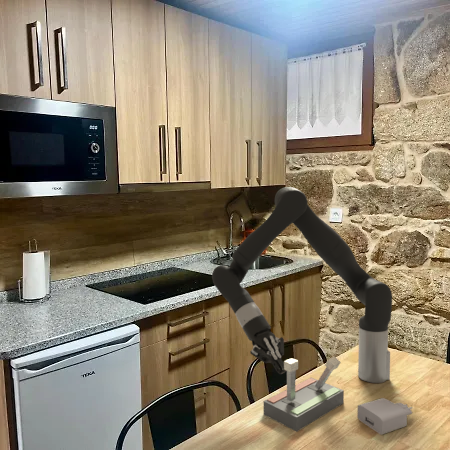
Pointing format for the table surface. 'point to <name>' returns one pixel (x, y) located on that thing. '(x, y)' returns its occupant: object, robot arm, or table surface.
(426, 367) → the table surface
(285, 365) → the switch lever
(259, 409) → the table surface
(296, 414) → the switch box
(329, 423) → the table surface
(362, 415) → the charger
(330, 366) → the lever on
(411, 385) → the table surface
